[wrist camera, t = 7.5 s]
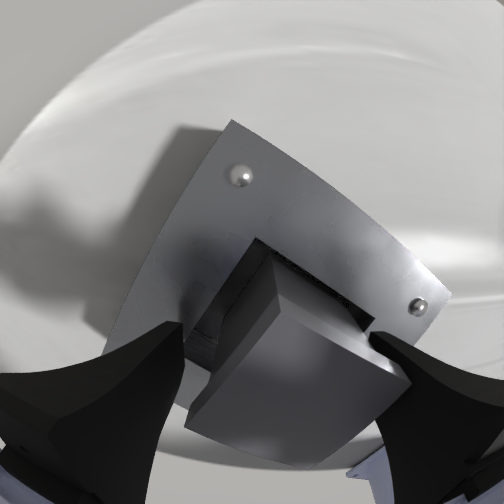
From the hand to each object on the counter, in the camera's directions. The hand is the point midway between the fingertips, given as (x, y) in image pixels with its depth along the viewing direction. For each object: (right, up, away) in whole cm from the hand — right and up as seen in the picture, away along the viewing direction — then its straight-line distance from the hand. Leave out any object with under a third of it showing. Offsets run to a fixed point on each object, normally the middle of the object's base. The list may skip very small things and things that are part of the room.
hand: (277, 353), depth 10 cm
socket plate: (0, +1, +3) cm, 3 cm away
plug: (0, +1, +3) cm, 4 cm away
